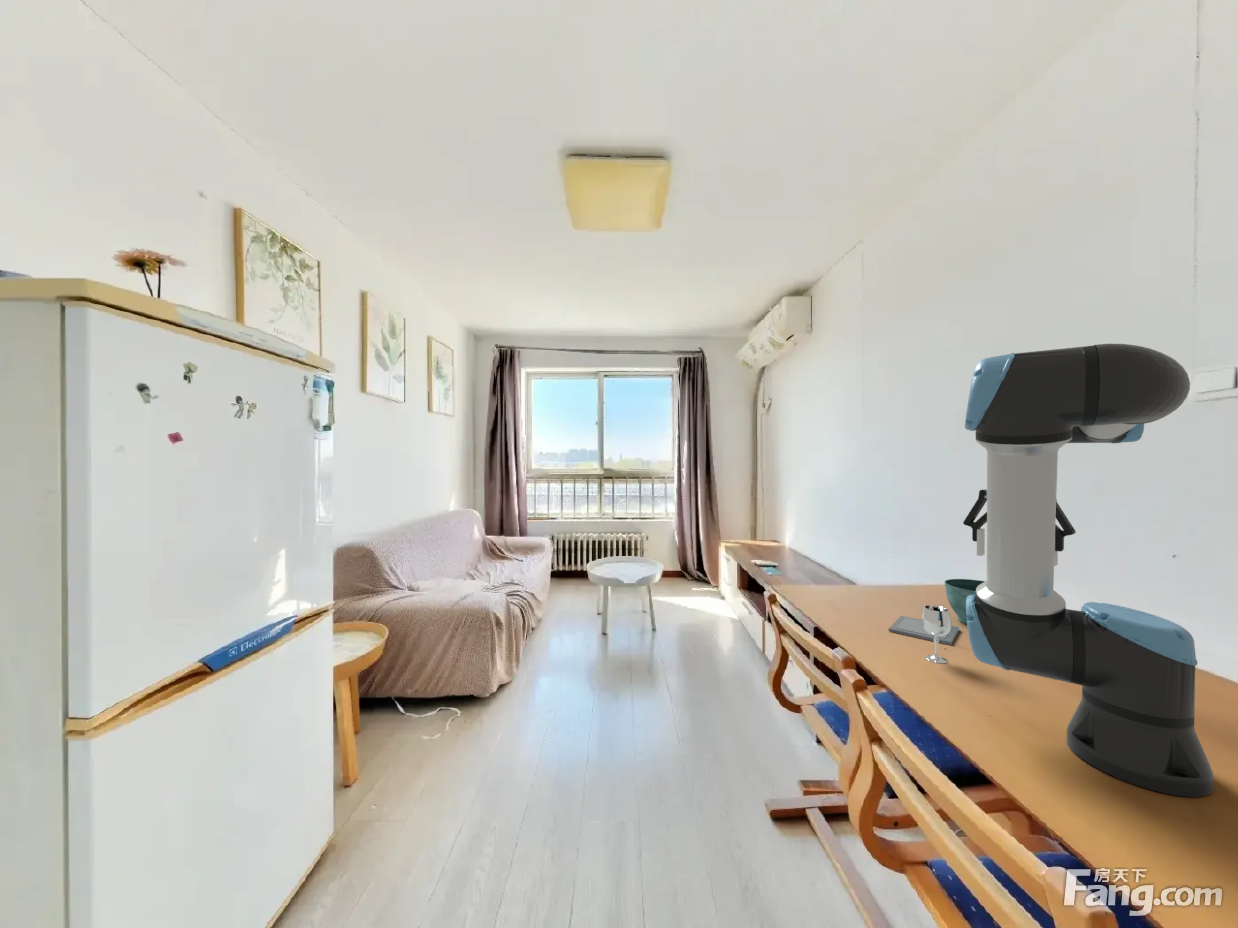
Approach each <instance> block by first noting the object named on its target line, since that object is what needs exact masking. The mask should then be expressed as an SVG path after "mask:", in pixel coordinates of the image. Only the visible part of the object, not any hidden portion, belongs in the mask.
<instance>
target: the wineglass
mask: <svg viewBox="0 0 1238 928" xmlns="http://www.w3.org/2000/svg"><path fill="white" fill-rule="evenodd" d="M921 620H922V626H923V628H924V630H925V631H926V632H928V633H930V634H932V635H934V636H935V637H934V639H933V640H934V641H933V643H934V653H933V654H926V655H925V656H924V658H925V660H927V661H928V662H933V663H937V664H946V663H947V664H948V659H946V658H945V657H942V656H941V655H939V653H938V645H939V639H938V636H944V635H947V634H948V633H949V632H950V630H951V626H952V618H951V615H950V611H949V609H948V608H946V607H944V606H939V605H934V604H932V605H931V604H929V605H928V604H927V605H924V607H923V610H922V615H921Z"/></svg>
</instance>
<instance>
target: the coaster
mask: <svg viewBox="0 0 1238 928" xmlns="http://www.w3.org/2000/svg"><path fill="white" fill-rule="evenodd" d="M888 632H890V633H895V634H899V635H902V636H908V637H913V638H918V639H922V640H925V641H931V642H934V640H933V639H934V637H935V636H934V635H932V634H930V633H928V632H926V631H925V630H924V628H923V626H922V619H920V618H915V617H910V616H905V615H900V616H899V617H898V618H897V619H896V620H895V621H893V623H892V624H891V626H890V627H888ZM959 632H960V626H959V627H958V626H956V625H955V626H954V625H951V630H950V632H949V633H948V634H947V635H944V636H938V639H939V642H938V644H939V643H940V644H944V645H949V646H952V644H953V642H954V641H955V640H956V638H957V635H958V634H959Z"/></svg>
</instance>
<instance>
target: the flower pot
mask: <svg viewBox="0 0 1238 928" xmlns="http://www.w3.org/2000/svg"><path fill="white" fill-rule="evenodd" d="M985 581H986V580H980V579H979V580H978V579H972V578H971V579H969V578H951V579H945V580H944V586H945V587H944V588H945V594H946V597H947V598H946V599H947V601H948V604H949V605H950V607H951V609H952V610H953V612H954V613H955V614H956V615H957V620H958V621H959V622H960V623H963V624H966V625H967V614H966V598H967V596H969V595H976V588H977V586H978V585H980V584H982V583H983V582H985Z"/></svg>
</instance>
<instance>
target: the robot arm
mask: <svg viewBox="0 0 1238 928" xmlns="http://www.w3.org/2000/svg"><path fill="white" fill-rule="evenodd" d="M1190 389H1191V380H1190V378H1189V374H1188V372H1187V371H1186V370H1185V368H1184V367H1183V366H1182V364H1180V363H1179V362H1178V361H1177V360H1176V359H1174V358H1173V357H1172V356H1169V355H1167V354H1165V353H1163V352H1160V351H1157V350H1155V349H1152V348H1150V347H1145V346H1140V345H1137V344H1135V345H1133V344H1127V343H1099V344H1093V345H1087V346H1077V347H1067V348H1057V349H1046V350H1037V351H1028V352H1016V353H1015V352H1011V353H1009V354H1008V353H1007V354H1000V355H997V356H996V355H995V356H990V357H985V358H983V359H981V360H980V361H978V362H977V363H976V364H975V366H974V369H973V373H972V377H971V382H970V387H969V392H968V393H969V394H968V401H967V407H966V413H965V422H964V428H965V430H967V431H971V432H974V431H975V442H977V444H979V445H980V446H982V447H983V448H985V450H986V454H987V456H986V457H987V458H986V463H987V464H986V470H987V471H986V489H980V490H978V498H977V500H976V502H975V503H974V505H973V506H972V508H971V509H970V511H969V512H968V514H967V515H966V517H965V519H964V521H963V523H962V524H963V525H964V526H968V527H970V528H971V530H972V532H971V533H972V534H971V536H972V538H971V539H972V542H976V556H978V557H982V556H985V552H986V580H984V581H985V582H983V583H982V584H980V585H978V586H977V588H976V595H969V596H967V598H966V614H967V624H966V625H967V633H968V634H967V635H968V638H969V644H970V648H971V650H972V653H973V655H974V657H975V658H976V659H977V660H978V661H979V662H980V663H984V664H986V665H990V666H994V667H996V668H997V667H998V668H1001V669H1003V670H1004V671H1014V672H1018V673H1022V674H1023V673H1024V674H1028V675H1033V676H1037V677H1043V678H1047V679H1050V680H1051V679H1052V680H1056V681H1060V682H1064V683H1070V684H1073V685H1078V686H1082V687H1081V690H1082V691H1081V700H1080V702H1079V703H1078V706H1077V708H1076V710H1075V711H1074V713H1073V715H1072V718H1071V719H1070V721H1069V723H1068V725H1067V727H1066V745H1067V746H1068V748H1069V749H1070V750H1071V751H1072V753H1074V754H1075V755H1076V756H1077V757H1078V758H1080V759H1081V760H1083V761H1084V762H1086V763H1087V764H1089V765H1091V766H1092V767H1094V768H1096V769H1098V770H1100V771H1101V772H1104V773H1105V774H1108V775H1110V776H1112V777H1114V778H1117V779H1118V780H1121V781H1124V782H1126V783H1130V784H1132V785H1134V786H1135V785H1136V786H1139V787H1141V788H1144V789H1148V790H1151V791H1155V792H1159V793H1163V794H1167V795H1173V796H1178V797H1179V796H1180V797H1188V798H1200V797H1206V796H1208V795H1211V794H1212V793H1213V792H1214V773H1213V772H1214V771H1213V769H1212V767H1211V765H1210V763H1209V759H1208V758H1207V756H1206V753H1205V751H1204V748H1203V746H1202V744H1201V741H1200V739H1199V737H1198V735H1197V733H1196V729H1195V713H1196V711H1195V708H1196V705H1195V704H1196V702H1195V701H1196V666H1197V665H1198V660H1197V656H1196V655H1197V654H1196V648H1195V647H1196V646H1195V640H1194V637H1193V636H1192V633H1190V631H1188V630H1187V629H1186V628H1184V627H1183V626H1181V625H1179V624H1178V623H1176V622H1174V621H1171V620H1168V619H1166V618H1164V617H1161V616H1158V615H1155V614H1152V613H1149V612H1145V611H1141V610H1139V609H1138V610H1137V609H1134V608H1130V607H1126V606H1122V605H1117V604H1111V603H1106V602H1094V601H1088V602H1085V603H1083V605H1082V606H1081V608H1080V609H1081V610H1075V609H1069V608H1066V607H1067V606H1066V605H1067V603H1066V600H1065V598H1063V596H1062V595H1061V594H1059V593H1058V592H1057V591H1055V590H1054V576H1055V567H1056V566H1058V557H1059V555H1058V552H1063V551H1064V550H1065V545H1064V544H1065V537H1066V536H1067V537H1068V536H1072V535H1075V534H1076V530H1075V528H1074V526H1073V525H1072V523H1071V522H1070V520H1069V519H1068V517H1067V515H1066V514H1065V513H1064V511H1063V509H1062V508H1061V506H1060V505H1059V502H1058V501H1057V485H1058V482H1057V481H1058V455H1059V449H1061V448H1062V447H1063V446H1064V445H1066V444H1094V443H1095V444H1107V443H1108V444H1121V443H1134V442H1137V441H1139V440H1141V438H1142V437H1143V433H1144V431H1145V429H1144V428H1145V424H1148V423H1149V424H1150V423H1153V422H1156V421H1160V420H1162V419H1164V418H1165V417H1167V416H1168V415H1170V414H1172V413H1174V412H1175V411H1176V410H1177V409H1178V408H1180V407H1181V406H1182V405H1183V404H1184V402H1185V400H1186V399H1187V398H1188V395H1189V393H1190ZM985 505H986V512H985V513H984V514H983V515H982V516H980V517H979V518H978V519H977V520H976V518H977V517H978V515H979V514H980V512H981V511H982V509H983V508H984V506H985ZM975 520H976V521H975ZM1056 521H1057V522H1058V523H1059V525H1060V527H1061V528H1062V529H1061V528H1060V527H1059V525H1057V524H1056ZM985 524H986V529H985V528H982V526H984V525H985ZM985 533H986V534H985ZM985 536H986V537H985ZM985 538H986V544H985ZM985 546H986V551H985Z"/></svg>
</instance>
